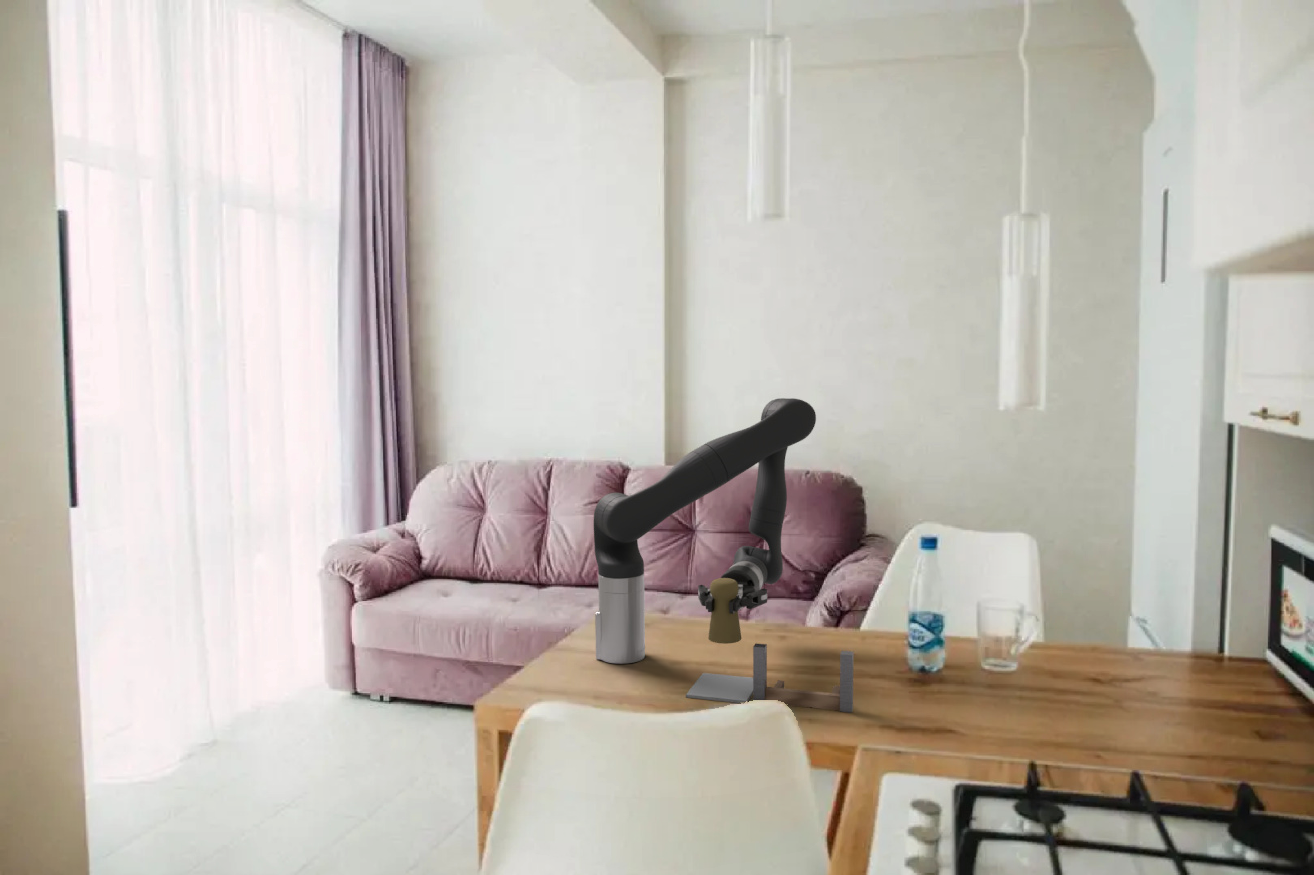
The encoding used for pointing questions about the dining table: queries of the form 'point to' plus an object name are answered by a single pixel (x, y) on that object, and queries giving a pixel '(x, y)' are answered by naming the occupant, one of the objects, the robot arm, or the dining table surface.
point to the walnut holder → (822, 700)
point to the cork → (724, 612)
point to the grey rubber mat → (722, 688)
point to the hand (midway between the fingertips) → (720, 607)
